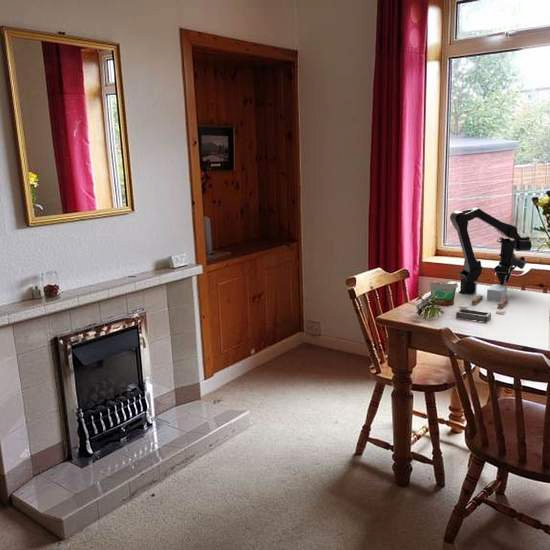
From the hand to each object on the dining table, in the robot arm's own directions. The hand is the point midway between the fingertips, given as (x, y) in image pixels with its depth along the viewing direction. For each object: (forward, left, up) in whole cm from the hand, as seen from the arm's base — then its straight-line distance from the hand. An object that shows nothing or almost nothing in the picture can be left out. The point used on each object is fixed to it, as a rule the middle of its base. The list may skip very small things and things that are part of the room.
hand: (504, 283), depth 265 cm
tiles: (0, -39, -4) cm, 39 cm away
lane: (0, -27, -4) cm, 27 cm away
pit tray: (0, -52, -4) cm, 52 cm away
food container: (-17, -39, -4) cm, 43 cm away
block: (0, -14, -4) cm, 15 cm away
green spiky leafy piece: (-16, -58, -4) cm, 61 cm away
